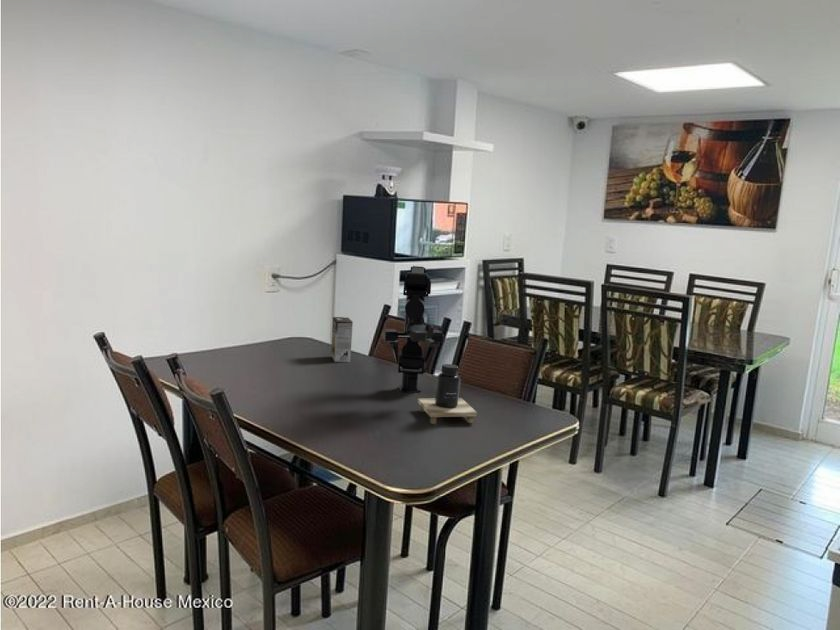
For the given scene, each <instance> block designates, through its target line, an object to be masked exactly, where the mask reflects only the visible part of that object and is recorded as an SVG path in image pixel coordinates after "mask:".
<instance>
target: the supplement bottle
mask: <svg viewBox="0 0 840 630" xmlns="http://www.w3.org/2000/svg"><path fill="white" fill-rule="evenodd" d="M440 371H441V373H439V374H438V375H437V379H436V387H435V388H436V390H435V397H434V398H435V404H436V405H437V406H439V407H443V408H454V407H456V406H457V405H458V398H460V397H459V396H460V387H461V378H460V376H459V375H458V373H459V366H458V365H455V364H452V363H451V364H450V363H444V364H442V365H441V370H440Z"/></svg>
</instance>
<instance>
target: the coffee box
mask: <svg viewBox="0 0 840 630" xmlns="http://www.w3.org/2000/svg"><path fill="white" fill-rule="evenodd" d="M353 324H354V322H353V320H351V319H350V317H345V316H344V317H343V316H333V317H332V328H331V329H332V332H331V335H332V336H331V358H332V359H333V361H334V362H336V363H340V362H341V363H346V362H347V363H350V362H351V358H352V357H351V356H352V354H351V353H352V342H353V341H352V340H353Z"/></svg>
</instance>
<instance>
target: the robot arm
mask: <svg viewBox="0 0 840 630" xmlns="http://www.w3.org/2000/svg"><path fill="white" fill-rule="evenodd" d="M403 282H404V283H403V292H402V293H403V294H402V295H403V296H405V297H406V299H405V300H406V301H405V306H404V311H405V314H404V327H403V331H397V330H396V329H395V328H384V329H383V330H382V331H381V338H382V339H383V341H385V342H387V343H388V344H389V345H390V347H391V349H392V353H393V356H394V359H395V360H394V361H395V363H396V364H398V370H397V372H398V374H399V373H400V374H401V384H400V385H397V387H398V388H399V390H400V391H401V392H402V393H421V392H422V390H421V388H419V379H420V375H424V374H426V365H427V362H428V360H429V357H430V355H431V353H432V351H433V349H434V348H435V347H436V346H437V345H440V343H444V342H445V334H444V333H443V332H442V331H441V330H439V329H434V325H433V324H427V325H426V324H425V318H424V316H425V305H426V304H425V302H426V299H427V298H429V295H431V292H432V291H431V290H432V289H431V288H432V280H431V277H430V276H429V274H428V273H427V272H426V267H424V266H416V265H412V266H410V271H407V273H406V274H405V275H404V281H403ZM399 339H406V342H405V344H404V345H403V346H402V347H401V354H399V341H398V340H399ZM419 342H425V343H424V344H425V345H424V351H423V348H422V346H421V344H420V343H419ZM423 352H424V354H423Z"/></svg>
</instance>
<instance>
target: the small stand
mask: <svg viewBox="0 0 840 630" xmlns="http://www.w3.org/2000/svg"><path fill="white" fill-rule="evenodd" d="M417 403H418V405H419V412H422V413H425V412H426V415H428V416H429V417H430V418H429V419H430V420H429V424H431V425H437V421H438V419H437V418H444V417H445V418H451V417H453V418H457V417H459V418H460V417H461V418H462V417H463V418H465V417H466V423H467V424H474V417H477V416H478V411H476V410H475V409H474V408H473V407H472V405H470V404H469V403H467V401H465V400H464V399H463V398H462V397H458V405H457V406H456V407H454V408H443V407H439V406H437V405H436V404H435V397H432V398H431V397H430V398H427V397H426V398H425V397H424V398H421V397H420V398H417Z"/></svg>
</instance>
